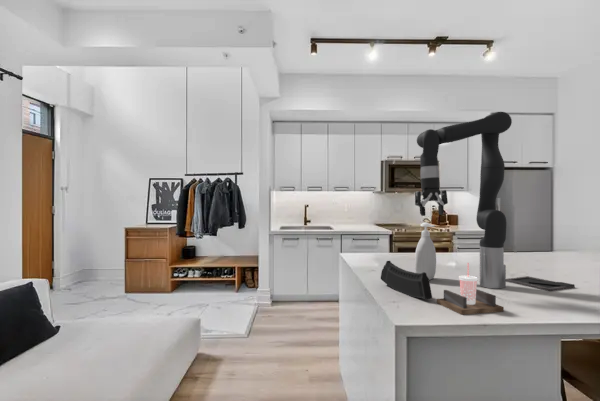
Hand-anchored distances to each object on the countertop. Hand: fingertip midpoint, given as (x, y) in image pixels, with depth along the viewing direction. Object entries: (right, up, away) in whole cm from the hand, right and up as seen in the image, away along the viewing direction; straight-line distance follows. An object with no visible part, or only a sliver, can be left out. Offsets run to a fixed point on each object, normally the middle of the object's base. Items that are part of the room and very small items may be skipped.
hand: (432, 215), depth 157 cm
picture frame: (+49, -32, +7) cm, 59 cm away
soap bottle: (+3, -31, +16) cm, 35 cm away
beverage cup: (+2, -30, -28) cm, 41 cm away
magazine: (-14, -31, -7) cm, 35 cm away
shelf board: (+3, -31, -28) cm, 42 cm away
